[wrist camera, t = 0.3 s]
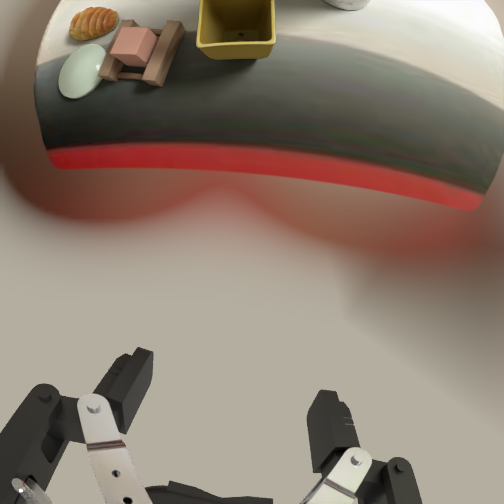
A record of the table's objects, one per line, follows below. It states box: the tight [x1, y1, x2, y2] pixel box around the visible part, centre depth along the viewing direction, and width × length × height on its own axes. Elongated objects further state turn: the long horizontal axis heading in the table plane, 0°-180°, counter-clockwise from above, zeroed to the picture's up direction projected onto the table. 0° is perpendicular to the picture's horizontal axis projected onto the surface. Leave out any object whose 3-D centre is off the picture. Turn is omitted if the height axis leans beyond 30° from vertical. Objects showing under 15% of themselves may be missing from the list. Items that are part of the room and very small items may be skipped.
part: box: [110, 27, 158, 67], centre depth 29 cm, size 4×4×6 cm
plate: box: [59, 44, 107, 99], centre depth 32 cm, size 10×10×1 cm
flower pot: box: [196, 0, 276, 60], centre depth 27 cm, size 9×9×9 cm
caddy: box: [97, 20, 186, 87], centre depth 31 cm, size 10×10×3 cm
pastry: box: [70, 7, 119, 40], centre depth 28 cm, size 9×7×4 cm
